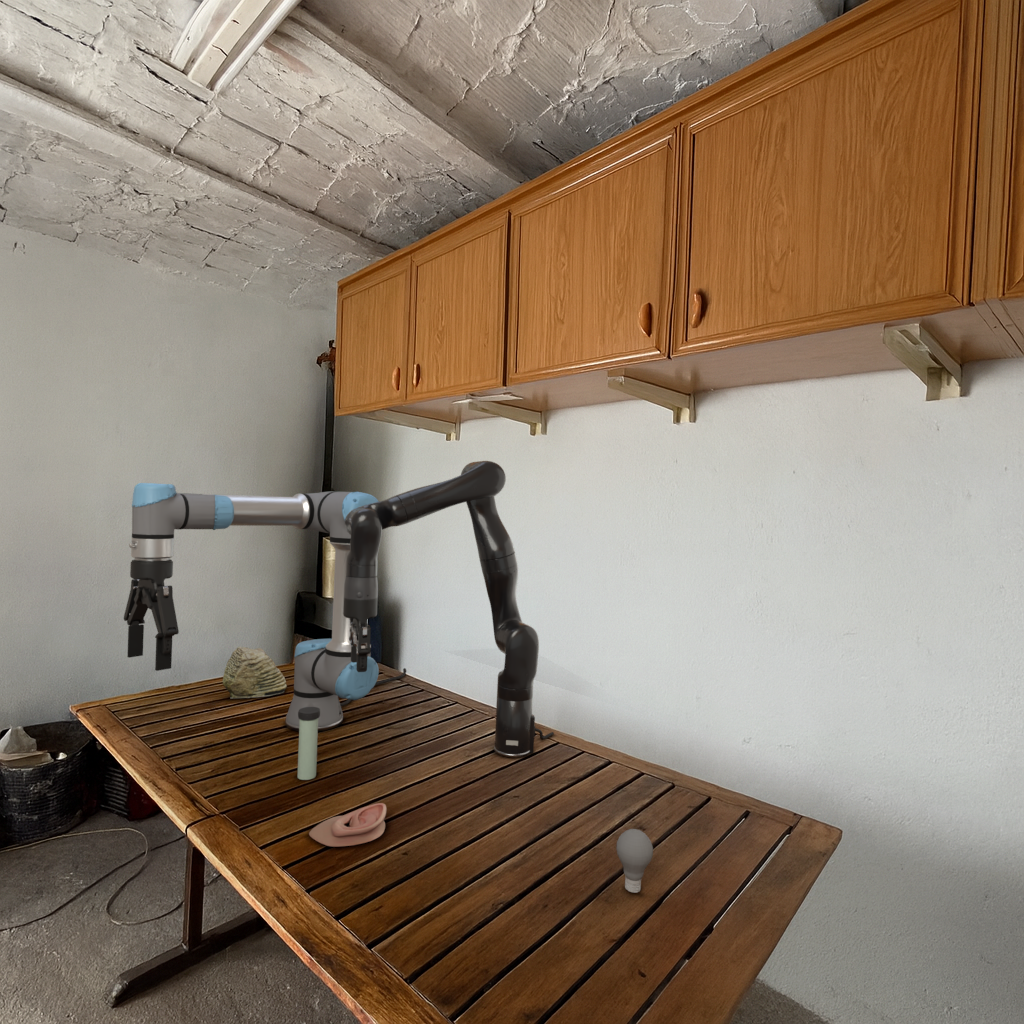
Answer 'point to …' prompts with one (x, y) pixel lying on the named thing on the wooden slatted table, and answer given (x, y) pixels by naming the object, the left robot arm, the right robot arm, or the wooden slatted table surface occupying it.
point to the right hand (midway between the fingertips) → (358, 666)
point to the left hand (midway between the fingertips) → (148, 662)
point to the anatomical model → (352, 827)
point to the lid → (309, 713)
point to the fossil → (252, 674)
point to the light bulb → (634, 857)
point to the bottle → (307, 749)
